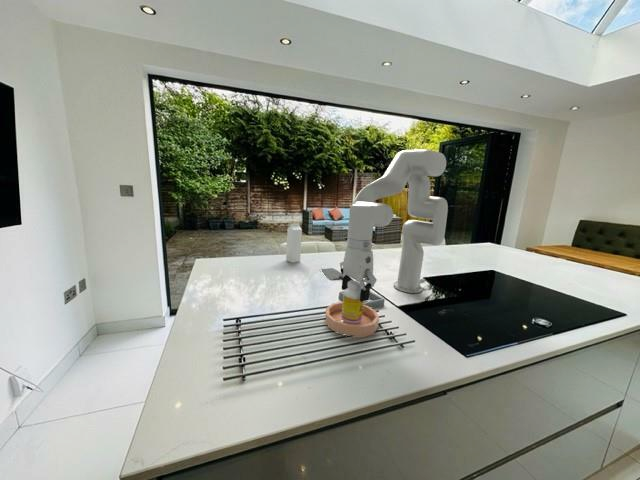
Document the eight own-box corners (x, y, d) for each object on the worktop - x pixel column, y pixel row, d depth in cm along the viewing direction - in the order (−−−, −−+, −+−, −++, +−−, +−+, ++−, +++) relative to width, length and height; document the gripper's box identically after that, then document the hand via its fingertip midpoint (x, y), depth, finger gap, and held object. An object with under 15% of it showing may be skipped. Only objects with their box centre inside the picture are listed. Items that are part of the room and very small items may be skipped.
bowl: (355, 307, 101) (356, 298, 100) (388, 329, 86) (389, 319, 86) (316, 316, 92) (316, 306, 91) (345, 342, 78) (346, 331, 77)
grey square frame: (363, 293, 115) (363, 287, 114) (383, 305, 104) (384, 299, 104) (338, 297, 108) (339, 291, 108) (358, 311, 98) (359, 304, 97)
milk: (285, 260, 155) (287, 222, 150) (294, 259, 159) (296, 222, 154) (291, 263, 150) (293, 224, 146) (300, 261, 154) (302, 223, 150)
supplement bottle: (360, 326, 85) (365, 288, 83) (340, 322, 87) (343, 285, 84) (361, 316, 92) (365, 280, 89) (342, 313, 93) (345, 278, 90)
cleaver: (363, 289, 120) (364, 284, 120) (344, 291, 116) (345, 287, 115) (332, 269, 146) (332, 265, 146) (315, 271, 142) (316, 267, 141)
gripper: (387, 249, 78) (381, 303, 82) (351, 237, 93) (348, 283, 97) (368, 251, 75) (362, 308, 78) (333, 238, 89) (330, 286, 93)
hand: (354, 294), depth 87 cm, fingers open, 9 cm apart
